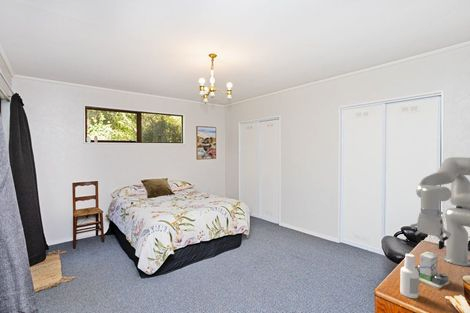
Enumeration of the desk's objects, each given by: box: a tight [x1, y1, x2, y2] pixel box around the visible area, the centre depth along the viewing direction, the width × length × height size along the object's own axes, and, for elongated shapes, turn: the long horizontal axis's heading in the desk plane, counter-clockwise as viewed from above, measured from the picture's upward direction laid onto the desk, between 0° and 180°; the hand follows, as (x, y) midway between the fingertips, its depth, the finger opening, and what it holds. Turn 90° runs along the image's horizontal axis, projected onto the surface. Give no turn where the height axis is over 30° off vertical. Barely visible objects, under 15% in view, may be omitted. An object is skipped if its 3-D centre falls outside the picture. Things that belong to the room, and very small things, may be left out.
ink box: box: [419, 251, 439, 281], centre depth 127 cm, size 8×5×12 cm, turn 122°
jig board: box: [419, 275, 452, 290], centre depth 127 cm, size 14×14×1 cm
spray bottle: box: [399, 253, 420, 299], centre depth 114 cm, size 7×7×18 cm
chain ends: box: [415, 264, 449, 286], centre depth 127 cm, size 9×13×3 cm
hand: (429, 245), depth 127 cm, fingers open, 9 cm apart
